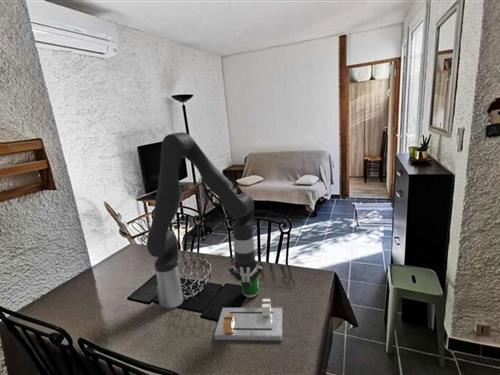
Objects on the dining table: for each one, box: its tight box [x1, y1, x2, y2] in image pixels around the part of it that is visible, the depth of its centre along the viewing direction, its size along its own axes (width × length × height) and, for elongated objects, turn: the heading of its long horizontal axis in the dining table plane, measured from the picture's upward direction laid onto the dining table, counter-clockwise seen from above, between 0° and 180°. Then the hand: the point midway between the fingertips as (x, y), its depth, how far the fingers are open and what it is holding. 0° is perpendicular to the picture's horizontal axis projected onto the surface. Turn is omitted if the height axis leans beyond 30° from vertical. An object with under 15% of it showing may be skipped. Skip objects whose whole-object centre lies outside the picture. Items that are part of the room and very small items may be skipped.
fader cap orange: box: [223, 314, 235, 333], centre depth 107 cm, size 3×5×4 cm, turn 174°
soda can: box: [239, 268, 260, 298], centre depth 129 cm, size 8×8×12 cm
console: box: [213, 307, 283, 341], centre depth 110 cm, size 24×16×2 cm, turn 84°
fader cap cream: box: [261, 298, 272, 316], centre depth 114 cm, size 3×5×4 cm, turn 174°
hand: (247, 289), depth 113 cm, fingers closed
